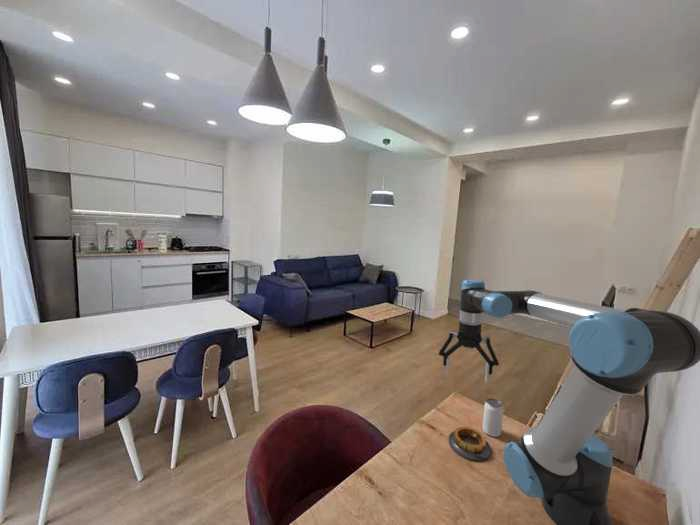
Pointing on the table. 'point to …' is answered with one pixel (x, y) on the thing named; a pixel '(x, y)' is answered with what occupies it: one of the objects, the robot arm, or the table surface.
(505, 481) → the table surface
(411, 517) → the table surface
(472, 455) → the grey and gold ring
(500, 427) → the can
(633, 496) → the table surface
